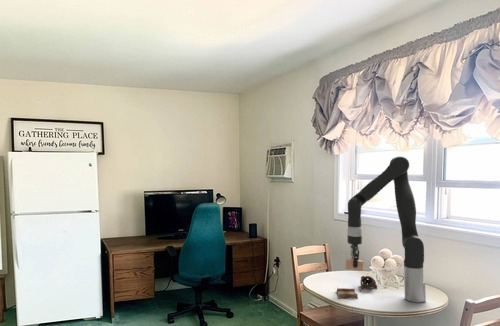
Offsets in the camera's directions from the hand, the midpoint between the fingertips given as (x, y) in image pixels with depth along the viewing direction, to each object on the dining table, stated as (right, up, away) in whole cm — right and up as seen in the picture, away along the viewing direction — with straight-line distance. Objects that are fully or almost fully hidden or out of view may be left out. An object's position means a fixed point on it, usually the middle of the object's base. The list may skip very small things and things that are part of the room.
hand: (354, 266), depth 194 cm
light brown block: (-1, -2, 0) cm, 2 cm away
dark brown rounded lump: (+11, -16, +10) cm, 22 cm away
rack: (-4, -16, 0) cm, 16 cm away
